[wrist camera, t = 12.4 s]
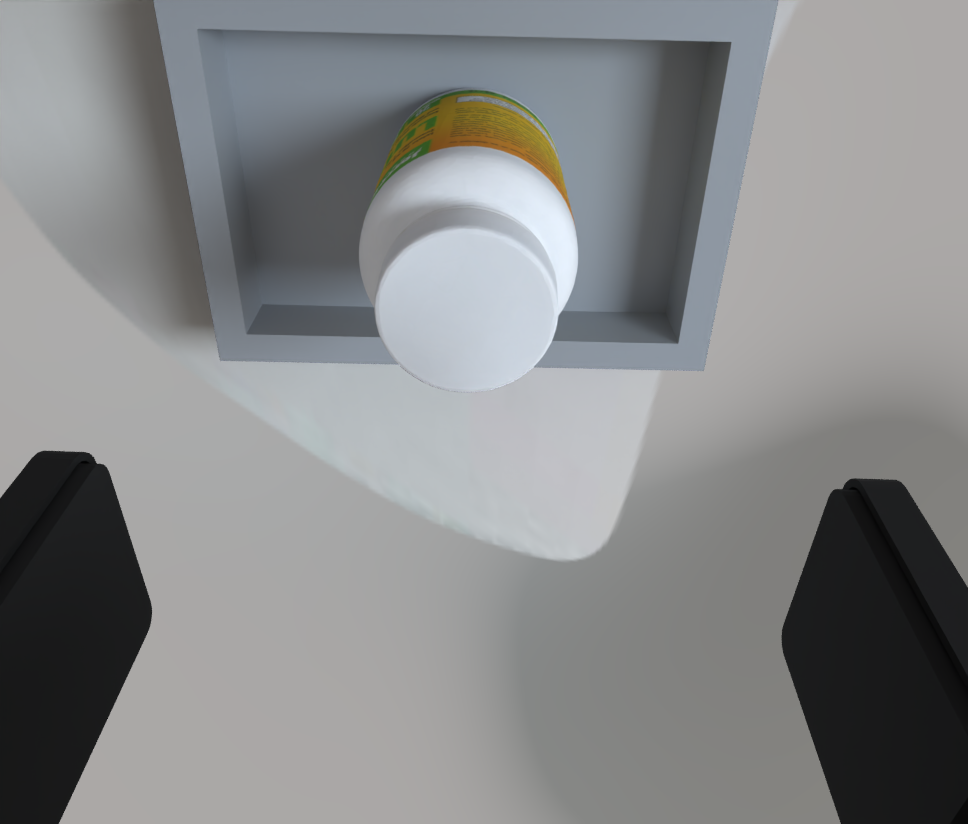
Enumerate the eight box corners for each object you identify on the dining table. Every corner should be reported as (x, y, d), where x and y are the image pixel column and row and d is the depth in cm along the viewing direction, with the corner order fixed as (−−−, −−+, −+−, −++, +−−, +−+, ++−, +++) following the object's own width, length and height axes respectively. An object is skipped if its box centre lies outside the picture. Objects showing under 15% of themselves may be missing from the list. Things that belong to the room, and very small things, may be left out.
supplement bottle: (422, 53, 23) (386, 148, 15) (589, 127, 24) (638, 252, 16) (366, 219, 26) (309, 374, 18) (517, 278, 27) (528, 449, 19)
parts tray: (747, -13, 23) (778, 0, 20) (685, 328, 29) (703, 370, 27) (187, -27, 23) (150, -15, 20) (243, 319, 29) (220, 360, 26)
